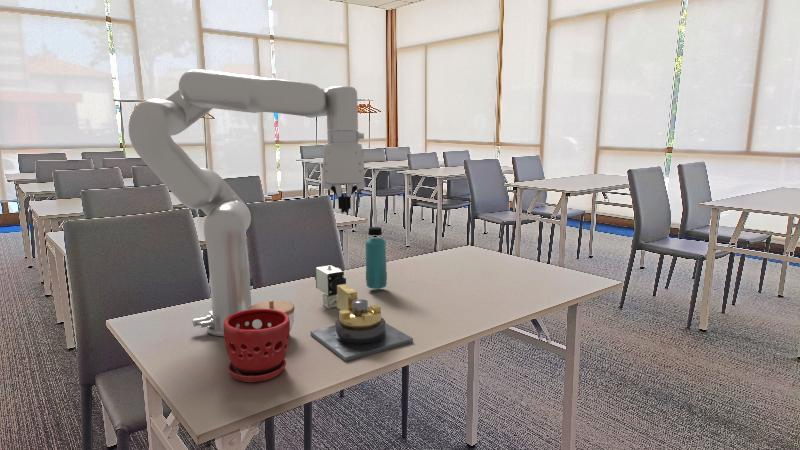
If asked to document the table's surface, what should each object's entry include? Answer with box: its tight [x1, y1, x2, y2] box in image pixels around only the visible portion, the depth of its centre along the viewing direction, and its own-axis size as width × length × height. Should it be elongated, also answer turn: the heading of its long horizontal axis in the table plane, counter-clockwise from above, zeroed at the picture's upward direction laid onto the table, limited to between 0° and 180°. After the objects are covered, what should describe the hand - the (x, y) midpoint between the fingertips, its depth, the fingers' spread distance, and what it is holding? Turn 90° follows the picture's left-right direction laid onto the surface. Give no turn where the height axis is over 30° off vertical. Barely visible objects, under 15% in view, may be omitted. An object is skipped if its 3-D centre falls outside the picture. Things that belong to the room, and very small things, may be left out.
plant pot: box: [223, 309, 291, 383], centre depth 107 cm, size 13×13×12 cm
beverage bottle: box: [365, 226, 388, 290], centre depth 160 cm, size 6×7×20 cm
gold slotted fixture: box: [337, 283, 382, 330], centre depth 127 cm, size 17×10×6 cm, turn 28°
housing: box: [310, 317, 414, 362], centre depth 125 cm, size 18×18×4 cm
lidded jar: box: [249, 299, 295, 332], centre depth 126 cm, size 11×11×9 cm
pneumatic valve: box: [314, 264, 347, 310], centre depth 147 cm, size 6×12×12 cm, turn 32°
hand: (344, 211), depth 131 cm, fingers closed
